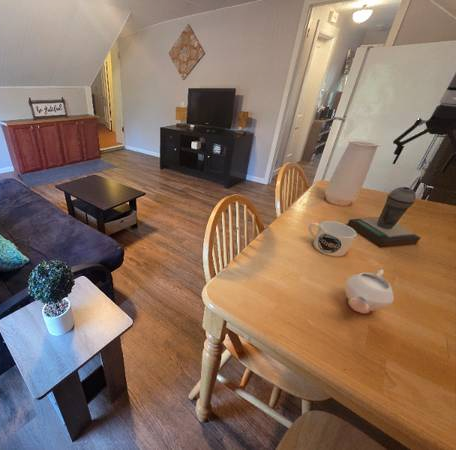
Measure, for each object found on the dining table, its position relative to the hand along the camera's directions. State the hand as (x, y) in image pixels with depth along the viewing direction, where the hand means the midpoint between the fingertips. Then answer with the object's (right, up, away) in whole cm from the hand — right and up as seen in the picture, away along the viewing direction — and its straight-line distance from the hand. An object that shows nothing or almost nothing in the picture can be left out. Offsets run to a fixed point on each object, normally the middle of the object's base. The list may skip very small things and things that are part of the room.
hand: (417, 167), depth 92 cm
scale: (-12, -26, +2) cm, 29 cm away
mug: (-39, -30, -5) cm, 49 cm away
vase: (-11, -11, +26) cm, 30 cm away
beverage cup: (-13, -22, 0) cm, 26 cm away
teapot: (-45, -44, -27) cm, 68 cm away
